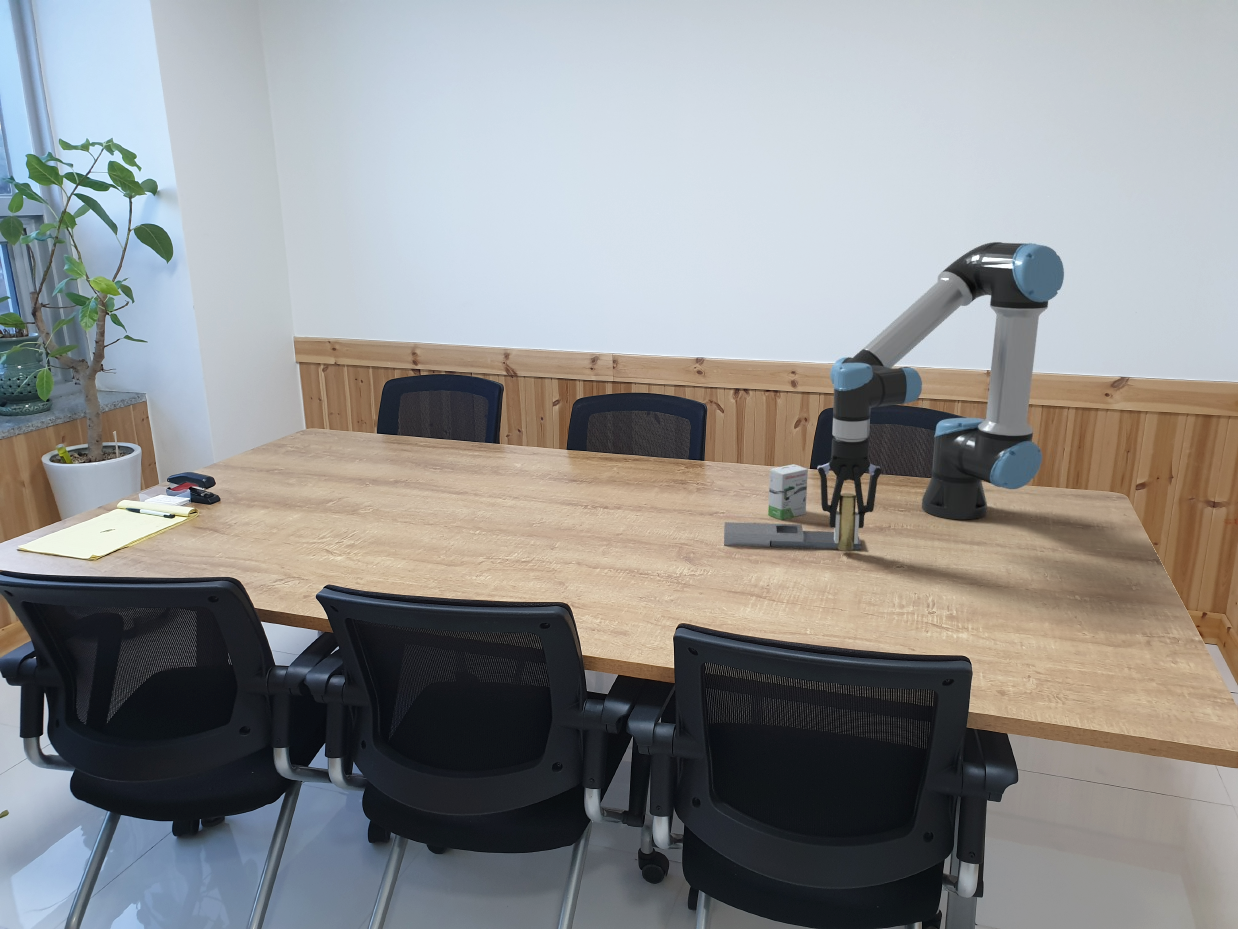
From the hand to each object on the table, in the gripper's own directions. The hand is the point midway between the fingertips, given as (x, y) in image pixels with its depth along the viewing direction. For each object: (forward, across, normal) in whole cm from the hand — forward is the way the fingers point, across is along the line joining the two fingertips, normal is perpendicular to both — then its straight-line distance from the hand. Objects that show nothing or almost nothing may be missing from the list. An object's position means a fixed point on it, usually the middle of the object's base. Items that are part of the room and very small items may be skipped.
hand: (845, 541), depth 198 cm
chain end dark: (+3, +6, -6) cm, 9 cm away
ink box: (+3, +11, -25) cm, 27 cm away
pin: (+2, 0, 0) cm, 2 cm away
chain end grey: (+3, +18, -6) cm, 19 cm away
